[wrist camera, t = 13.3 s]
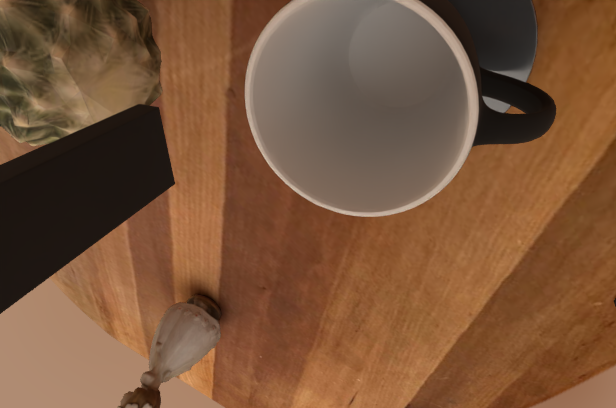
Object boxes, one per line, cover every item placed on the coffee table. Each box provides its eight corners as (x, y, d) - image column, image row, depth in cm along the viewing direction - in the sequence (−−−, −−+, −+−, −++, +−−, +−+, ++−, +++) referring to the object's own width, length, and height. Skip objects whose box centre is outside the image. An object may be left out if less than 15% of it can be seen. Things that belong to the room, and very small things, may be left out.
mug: (319, 113, 25) (246, 188, 18) (333, -44, 20) (236, -35, 12) (507, 154, 22) (517, 267, 15) (582, -19, 17) (660, 13, 9)
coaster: (575, -57, 17) (577, -57, 16) (498, 158, 23) (498, 163, 23) (342, -63, 20) (339, -63, 20) (330, 128, 26) (328, 131, 26)
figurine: (181, 277, 44) (74, 393, 33) (231, 299, 43) (138, 428, 31) (186, 317, 49) (94, 430, 38) (231, 338, 48) (150, 462, 36)
